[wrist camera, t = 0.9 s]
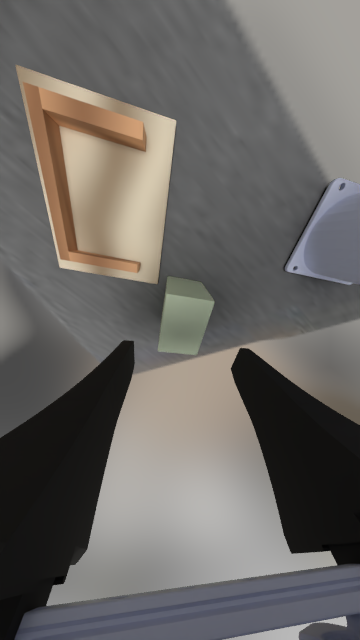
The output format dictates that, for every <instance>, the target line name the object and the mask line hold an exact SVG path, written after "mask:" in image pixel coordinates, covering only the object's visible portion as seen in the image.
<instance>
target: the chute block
mask: <svg viewBox="0 0 360 640" xmlns="http://www.w3.org/2000/svg"><path fill="white" fill-rule="evenodd" d="M214 303H215V301H214V300H213V298H212V297H211V295H210V294H209V292H208V291H207V290H206V288H205V287H204V285H203V284H202V282H199V281H193V280H188V279H182V278H177V277H171V276H168V277H167V284H166V290H165V297H164V304H163V311H162V318H161V326H160V335H159V344H158V351H161V352H170V353H180V354H190V355H197V353H198V350H199V347H200V344H201V341H202V338H203V335H204V332H205V329H206V327H207V324H208V321H209V318H210V315H211V312H212V309H213V306H214Z"/></svg>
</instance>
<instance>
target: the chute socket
mask: <svg viewBox="0 0 360 640" xmlns="http://www.w3.org/2000/svg"><path fill="white" fill-rule="evenodd" d="M16 69H17V74H18V79H19V83H20V88H21V92H22V97H23V101H24V106H25V110H26V115H27V120H28V124H29V129H30V133H31V138H32V142H33V147H34V152H35V156H36V161H37V165H38V170H39V174H40V179H41V183H42V188H43V193H44V197H45V202H46V206H47V211H48V215H49V220H50V224H51V229H52V234H53V238H54V243H55V247H56V252H57V256H58V261H59V265H60V268H66V269H71V270H77V271H83V272H89V273H95V274H101V275H106V276H112V277H118V278H124V279H130V280H136V281H141V282H147V283H153V284H158V277H159V269H160V260H161V251H162V242H163V234H164V225H165V216H166V208H167V199H168V190H169V182H170V173H171V164H172V155H173V147H174V138H175V129H176V120H173V119H170V118H167V117H164V116H161V115H159V114H156V113H153V112H150V111H147V110H144V109H141V108H138V107H136V106H133V105H130V104H127V103H124V102H121V101H118V100H115V99H113V98H110V97H107V96H104V95H101V94H98V93H95V92H92V91H90V90H87V89H84V88H81V87H78V86H75V85H72V84H70V83H67V82H64V81H61V80H58V79H55V78H52V77H49V76H47V75H44V74H41V73H38V72H35V71H32V70H29V69H26V68H24V67H21V66H18V65H16Z"/></svg>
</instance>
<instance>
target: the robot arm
mask: <svg viewBox="0 0 360 640" xmlns="http://www.w3.org/2000/svg"><path fill="white" fill-rule="evenodd" d="M340 185H341V187H340V189H339V186H340ZM294 267H295V268H294ZM293 268H294V269H293ZM285 271H287V272H291V273H296V274H300V275H305V276H310V277H315V278H319V279H324V280H329V281H333V282H338V283H343V284H347V285H351V284H353V283H355V284H359V285H360V184H358V183H355V182H352V181H349V180H346V179H343V178H337V179H334V180H333V181H331V183H330V184H329V186H328V188H327V189H326V191H325V193H324V195H323V197H322V199H321V201H320V202H319V204H318V206H317V208H316V210H315V212H314V214H313V216H312V217H311V219H310V221H309V223H308V225H307V227H306V229H305V231H304V232H303V234H302V236H301V238H300V240H299V242H298V244H297V246H296V247H295V249H294V251H293V253H292V255H291V257H290V259H289V260H288V262H287V264H286V266H285ZM134 364H135V362H134V341H126V340H124V341H122V342H121V343H120V344H119V345H118V347H117V348H116V349H115V350H114V351H113V352H112V353H111V354H110V355H109V356H108V357H107V358H106V359H105V360H104V361H103V362H101V363H100V364H99V365H98V367H96V368H95V369H94V370H93V371H92V372H91V373H89V374H88V375H87V376H86V377H85V378H84V379H83V380H81V381H80V382H79V383H78V384H77V385H75V386H74V387H73V388H71V389H70V390H69V391H68V392H66V393H65V394H64V395H63V396H61V397H60V398H58V399H57V400H56V401H54V402H53V403H52V404H50V405H49V406H47V407H46V408H45V409H43V410H42V411H40V412H39V413H38V414H36V415H35V416H33V417H32V418H30V419H29V420H27V421H26V422H24V423H23V424H21V425H20V426H18V427H17V428H15V429H14V430H12V431H10V432H9V433H7V434H6V435H4V436H3V437H1V438H0V640H222V639H227V638H232V637H238V636H243V635H249V634H253V633H259V632H264V631H269V630H275V629H280V628H285V627H290V626H296V625H301V624H306V623H311V622H316V621H322V620H327V619H332V618H338V617H343V616H346V619H347V627H345V626H340V625H335V624H329V623H313V624H310V625H309V626H308V627H306V628H305V629H303V630H302V631H300V632H299V640H360V425H358V424H356V423H355V422H353V421H351V420H350V419H348V418H346V417H344V416H343V415H341V414H339V413H337V412H336V411H334V410H333V409H331V408H330V407H328V406H326V405H325V404H323V403H322V402H320V401H319V400H317V399H315V398H314V397H312V396H311V395H310V394H308V393H307V392H305V391H304V390H302V389H301V388H299V387H298V386H297V385H295V384H294V383H292V382H291V381H290V380H288V379H287V378H285V377H284V376H283V375H282V374H281V373H279V372H278V371H277V370H275V369H274V368H273V367H272V366H270V365H269V364H268V363H267V362H265V361H264V360H263V359H262V358H260V357H259V356H258V355H256V354H255V353H254V352H252V351H251V350H250V349H246V348H240V350H239V352H238V354H237V356H236V358H235V361H234V363H233V365H232V367H231V371H232V374H233V378H234V381H235V384H236V386H237V389H238V391H239V393H240V396H241V398H242V400H243V402H244V405H245V407H246V409H247V411H248V414H249V416H250V418H251V421H252V423H253V426H254V429H255V432H256V435H257V437H258V440H259V443H260V447H261V450H262V453H263V456H264V460H265V463H266V466H267V469H268V473H269V477H270V480H271V484H272V488H273V491H274V495H275V499H276V503H277V507H278V511H279V515H280V519H281V524H282V528H283V533H284V536H285V539H286V541H287V544H288V546H289V549H290V551H291V553H292V554H293V553H308V552H323V551H331V553H332V555H333V557H334V559H335V561H336V563H337V566H330V567H323V568H316V569H309V570H301V571H294V572H287V573H280V574H273V575H266V576H259V577H251V578H244V579H237V580H230V581H223V582H216V583H209V584H201V585H195V586H187V587H180V588H173V589H166V590H159V591H152V592H144V593H138V594H130V595H123V596H116V597H109V598H102V599H94V600H87V601H81V602H74V603H67V604H59V605H51V606H46V604H47V601H48V598H49V595H50V592H51V589H52V586H53V585H58V584H64V582H65V579H66V576H67V573H68V570H69V566H70V565H75V564H76V563H77V562H78V561H79V559H80V558H81V557H82V555H83V554H84V553H85V552H86V550H87V548H88V543H89V538H90V534H91V529H92V524H93V520H94V515H95V511H96V506H97V501H98V497H99V493H100V489H101V484H102V480H103V476H104V471H105V467H106V463H107V459H108V455H109V450H110V446H111V442H112V438H113V434H114V430H115V427H116V423H117V420H118V417H119V414H120V411H121V408H122V405H123V402H124V399H125V396H126V393H127V390H128V387H129V384H130V381H131V378H132V373H133V369H134Z"/></svg>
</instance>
